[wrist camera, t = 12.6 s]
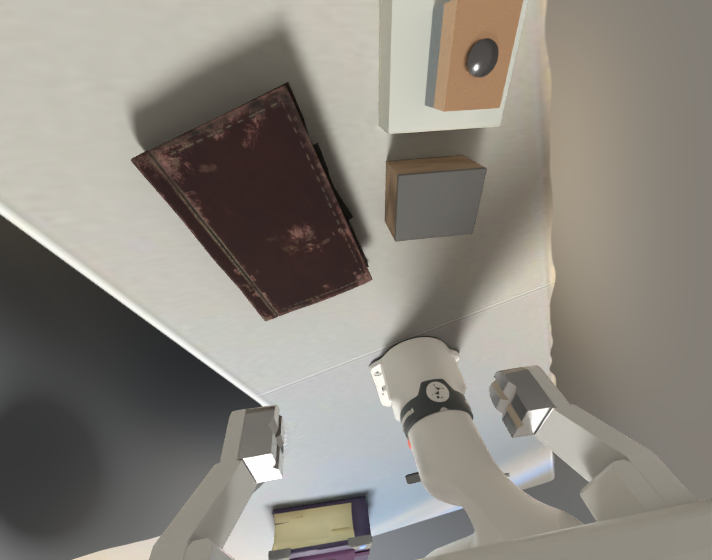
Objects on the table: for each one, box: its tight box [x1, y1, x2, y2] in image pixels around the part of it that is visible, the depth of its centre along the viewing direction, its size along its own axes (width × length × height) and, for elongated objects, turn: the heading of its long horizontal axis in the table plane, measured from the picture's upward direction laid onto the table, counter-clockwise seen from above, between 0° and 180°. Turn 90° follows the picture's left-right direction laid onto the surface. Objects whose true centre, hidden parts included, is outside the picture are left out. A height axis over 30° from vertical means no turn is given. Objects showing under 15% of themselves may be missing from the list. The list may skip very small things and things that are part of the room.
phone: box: [406, 472, 421, 484], centre depth 99 cm, size 7×1×15 cm
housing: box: [425, 0, 523, 112], centre depth 25 cm, size 5×7×5 cm
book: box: [268, 497, 372, 560], centre depth 108 cm, size 33×45×14 cm
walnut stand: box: [385, 155, 487, 241], centre depth 37 cm, size 8×10×6 cm
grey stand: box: [379, 0, 529, 134], centre depth 29 cm, size 12×12×5 cm
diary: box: [131, 82, 372, 321], centre depth 37 cm, size 19×25×5 cm
